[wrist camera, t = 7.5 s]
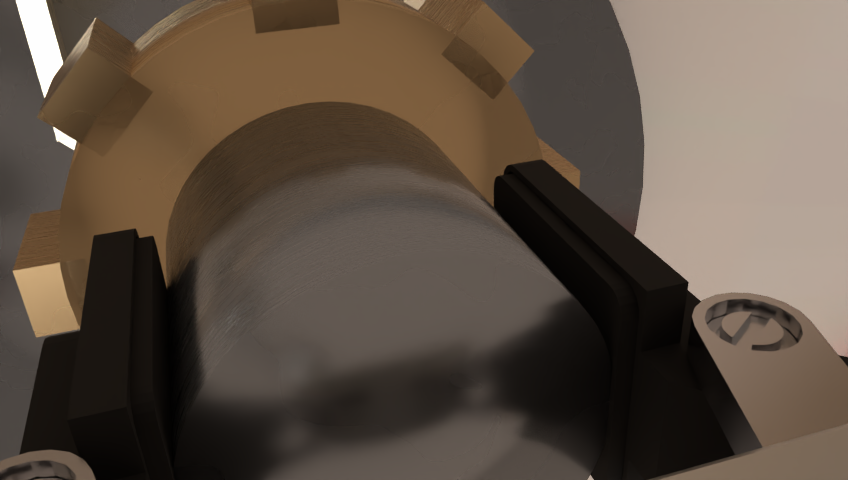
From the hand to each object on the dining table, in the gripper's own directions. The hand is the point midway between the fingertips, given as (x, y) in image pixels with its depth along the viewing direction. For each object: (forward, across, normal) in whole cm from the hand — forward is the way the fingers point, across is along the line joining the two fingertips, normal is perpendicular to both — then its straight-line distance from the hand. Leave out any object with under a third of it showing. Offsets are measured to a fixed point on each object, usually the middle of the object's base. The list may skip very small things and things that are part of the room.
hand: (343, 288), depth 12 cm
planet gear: (+3, 0, 0) cm, 3 cm away
